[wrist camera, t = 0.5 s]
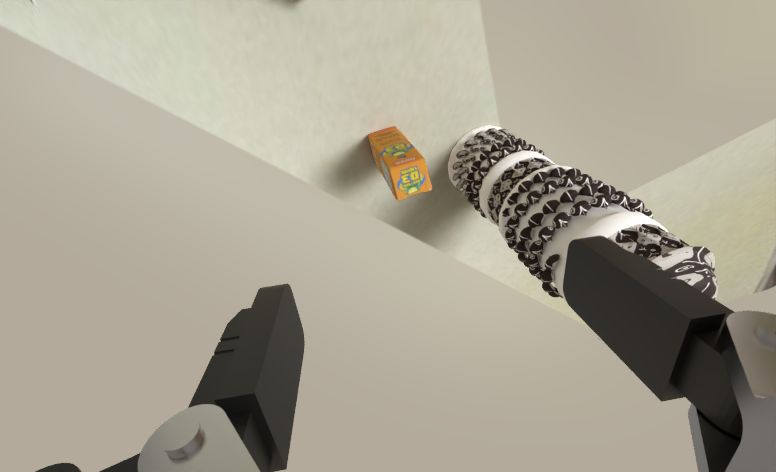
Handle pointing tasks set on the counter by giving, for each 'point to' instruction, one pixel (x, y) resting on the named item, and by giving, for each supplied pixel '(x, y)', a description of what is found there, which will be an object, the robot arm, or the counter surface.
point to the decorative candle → (562, 210)
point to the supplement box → (399, 163)
